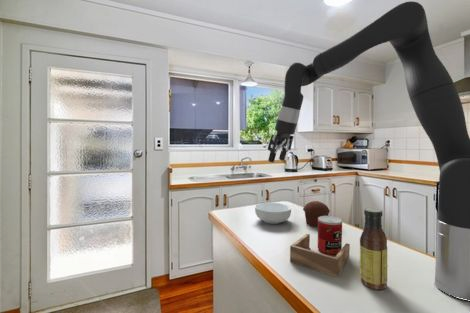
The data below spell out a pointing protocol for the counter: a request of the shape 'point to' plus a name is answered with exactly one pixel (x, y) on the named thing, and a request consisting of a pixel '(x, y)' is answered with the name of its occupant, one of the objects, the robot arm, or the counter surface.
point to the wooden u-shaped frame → (318, 257)
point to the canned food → (329, 235)
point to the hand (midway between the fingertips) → (276, 160)
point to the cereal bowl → (273, 212)
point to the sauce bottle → (373, 251)
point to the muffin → (315, 212)
